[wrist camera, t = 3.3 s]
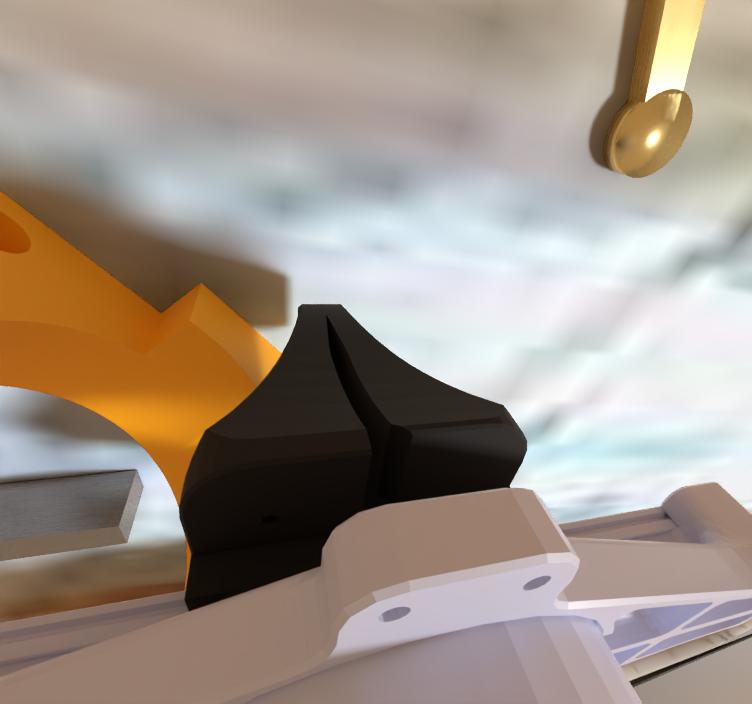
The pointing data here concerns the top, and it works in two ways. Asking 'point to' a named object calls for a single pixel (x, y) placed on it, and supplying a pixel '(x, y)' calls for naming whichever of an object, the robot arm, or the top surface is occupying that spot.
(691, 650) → the ramen bowl
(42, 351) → the pipe clamp
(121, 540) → the hitch bracket
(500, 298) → the top surface
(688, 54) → the brass spoon
